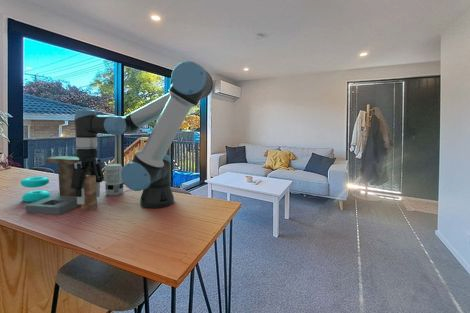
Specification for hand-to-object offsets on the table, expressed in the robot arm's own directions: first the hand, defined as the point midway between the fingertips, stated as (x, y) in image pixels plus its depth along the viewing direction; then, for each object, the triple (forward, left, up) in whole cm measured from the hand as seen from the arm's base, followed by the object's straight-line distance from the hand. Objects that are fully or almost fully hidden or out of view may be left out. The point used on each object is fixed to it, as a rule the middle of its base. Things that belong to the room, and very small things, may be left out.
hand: (89, 200), depth 102 cm
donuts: (+30, -6, -4) cm, 31 cm away
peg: (0, 0, -3) cm, 3 cm away
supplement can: (+2, -22, -4) cm, 22 cm away
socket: (+13, +2, -3) cm, 14 cm away
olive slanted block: (+14, -8, -3) cm, 16 cm away
